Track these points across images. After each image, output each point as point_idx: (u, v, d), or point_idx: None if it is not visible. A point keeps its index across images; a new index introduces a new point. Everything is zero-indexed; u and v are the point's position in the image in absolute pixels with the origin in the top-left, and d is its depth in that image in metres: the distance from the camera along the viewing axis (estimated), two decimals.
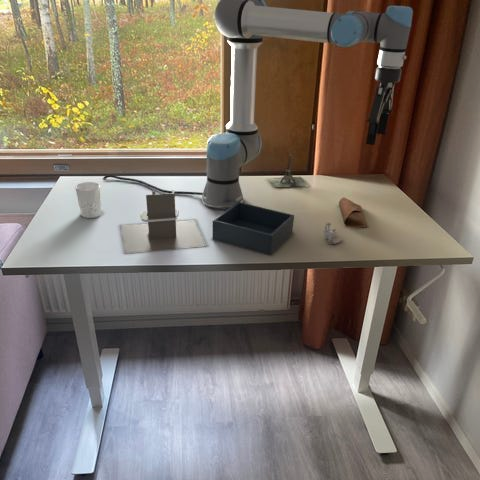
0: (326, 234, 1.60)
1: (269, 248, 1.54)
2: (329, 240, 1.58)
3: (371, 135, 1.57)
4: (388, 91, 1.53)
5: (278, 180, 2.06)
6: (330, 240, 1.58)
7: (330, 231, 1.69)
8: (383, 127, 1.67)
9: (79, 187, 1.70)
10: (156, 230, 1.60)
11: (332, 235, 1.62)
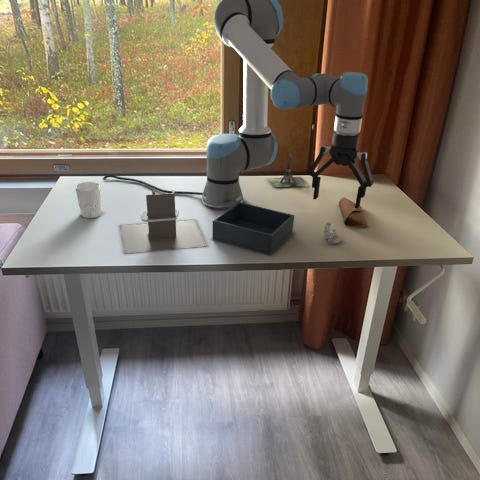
0: (326, 234, 1.60)
1: (269, 248, 1.54)
2: (329, 240, 1.58)
3: None
4: (335, 154, 1.49)
5: (278, 180, 2.06)
6: (330, 240, 1.58)
7: (330, 231, 1.69)
8: None
9: (79, 187, 1.70)
10: (156, 230, 1.60)
11: (332, 235, 1.62)
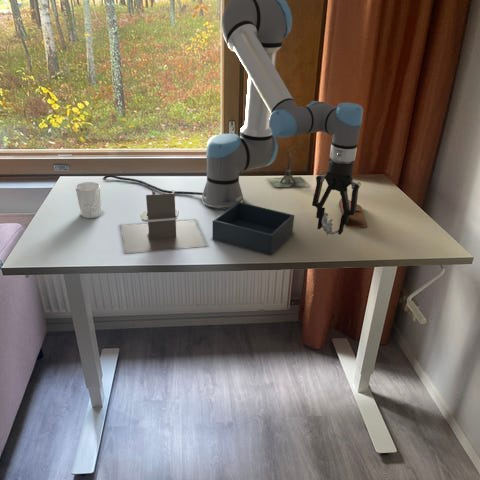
0: (324, 225, 1.59)
1: (269, 248, 1.54)
2: (327, 231, 1.57)
3: None
4: (330, 180, 1.53)
5: (278, 180, 2.06)
6: (328, 231, 1.57)
7: (327, 222, 1.67)
8: None
9: (79, 187, 1.70)
10: (156, 230, 1.60)
11: (330, 226, 1.61)
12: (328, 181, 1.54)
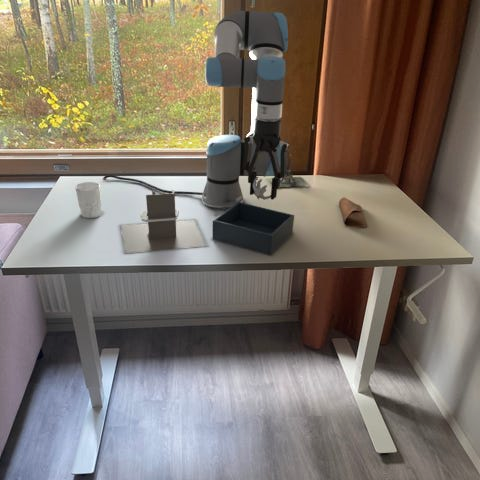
0: (255, 189, 1.52)
1: (269, 248, 1.54)
2: (258, 194, 1.50)
3: None
4: (258, 141, 1.47)
5: None
6: (259, 194, 1.50)
7: None
8: None
9: (79, 187, 1.70)
10: (156, 230, 1.60)
11: (262, 190, 1.54)
12: (256, 142, 1.48)
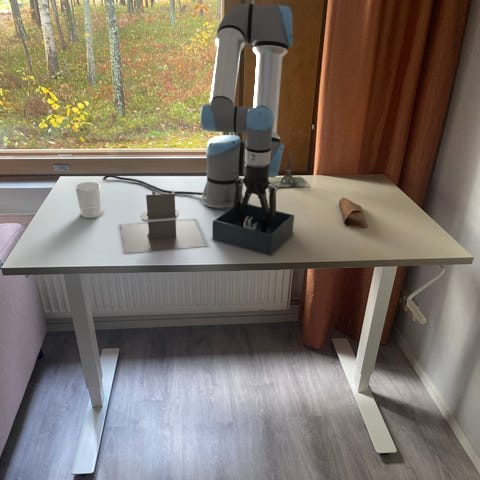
0: None
1: (269, 248, 1.54)
2: None
3: None
4: (248, 184, 1.54)
5: (278, 180, 2.06)
6: None
7: (252, 225, 1.68)
8: None
9: (79, 187, 1.70)
10: (156, 230, 1.60)
11: (252, 229, 1.62)
12: (246, 185, 1.55)
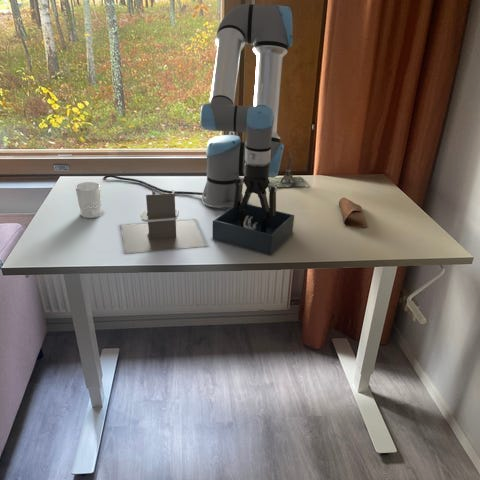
0: (245, 227, 1.60)
1: (269, 248, 1.54)
2: None
3: None
4: (248, 183, 1.54)
5: (278, 180, 2.06)
6: None
7: (252, 224, 1.68)
8: None
9: (79, 187, 1.70)
10: (156, 230, 1.60)
11: (252, 228, 1.62)
12: (246, 184, 1.55)
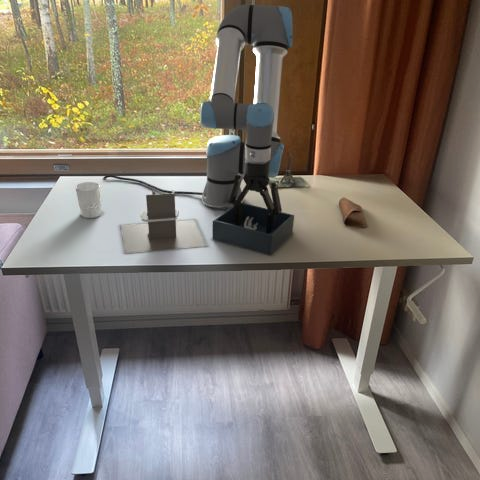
0: None
1: (269, 248, 1.54)
2: None
3: None
4: (248, 181, 1.54)
5: (278, 180, 2.06)
6: None
7: (253, 225, 1.69)
8: None
9: (79, 187, 1.70)
10: (156, 230, 1.60)
11: (252, 229, 1.62)
12: (246, 182, 1.55)
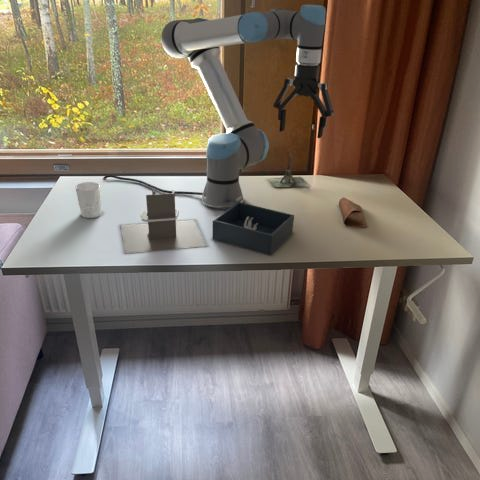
0: None
1: (269, 248, 1.54)
2: None
3: None
4: (297, 85, 1.60)
5: (278, 180, 2.06)
6: None
7: (253, 225, 1.69)
8: None
9: (79, 187, 1.70)
10: (156, 230, 1.60)
11: (252, 229, 1.62)
12: (296, 87, 1.61)
